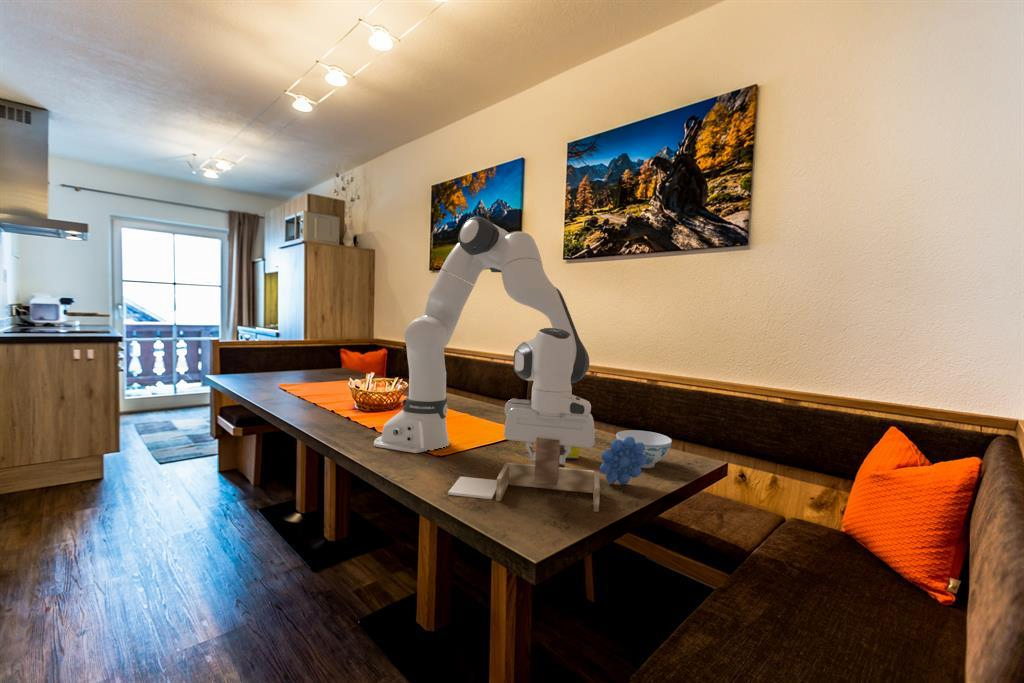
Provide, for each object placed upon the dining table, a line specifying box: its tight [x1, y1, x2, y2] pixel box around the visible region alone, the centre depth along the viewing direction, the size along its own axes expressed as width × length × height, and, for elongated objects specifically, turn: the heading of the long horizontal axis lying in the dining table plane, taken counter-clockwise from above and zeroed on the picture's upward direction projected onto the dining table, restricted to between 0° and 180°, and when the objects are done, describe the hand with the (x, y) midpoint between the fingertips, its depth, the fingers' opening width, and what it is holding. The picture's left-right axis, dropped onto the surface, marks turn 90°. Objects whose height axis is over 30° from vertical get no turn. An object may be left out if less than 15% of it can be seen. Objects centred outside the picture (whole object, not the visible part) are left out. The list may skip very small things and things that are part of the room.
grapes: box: [599, 437, 647, 485], centre depth 112 cm, size 12×7×12 cm, turn 92°
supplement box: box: [565, 446, 580, 462], centre depth 131 cm, size 6×6×11 cm
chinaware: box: [615, 429, 673, 469], centre depth 127 cm, size 15×15×8 cm
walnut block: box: [534, 438, 560, 486], centre depth 101 cm, size 5×5×10 cm
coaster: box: [447, 476, 497, 500], centre depth 105 cm, size 10×10×1 cm
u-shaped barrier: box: [495, 462, 601, 513], centre depth 102 cm, size 22×11×5 cm, turn 81°
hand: (547, 462), depth 101 cm, fingers closed on walnut block, 5 cm apart
